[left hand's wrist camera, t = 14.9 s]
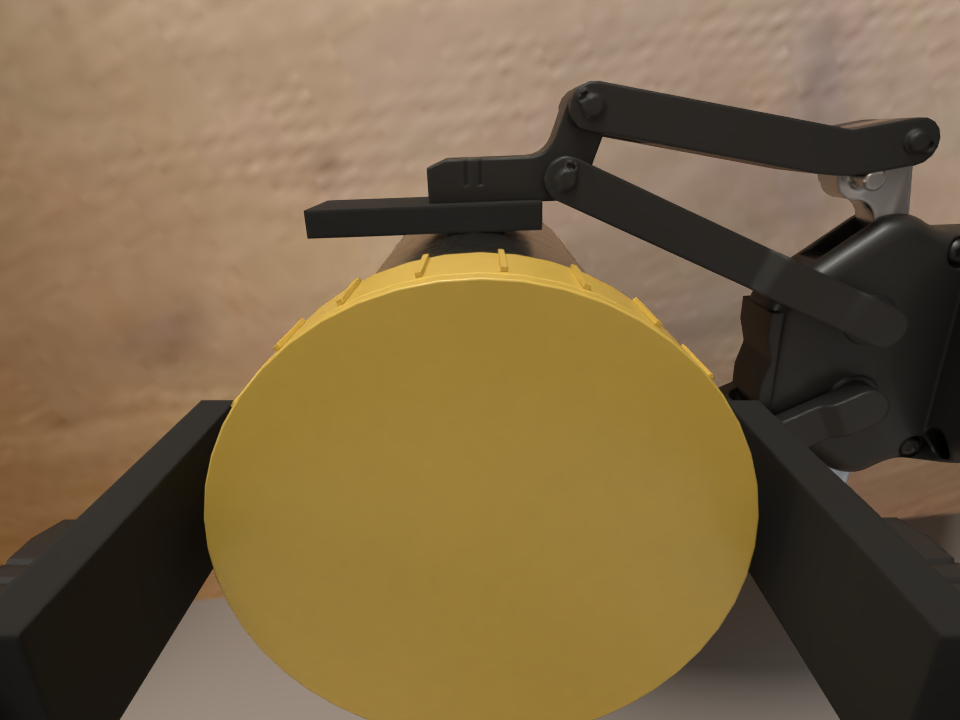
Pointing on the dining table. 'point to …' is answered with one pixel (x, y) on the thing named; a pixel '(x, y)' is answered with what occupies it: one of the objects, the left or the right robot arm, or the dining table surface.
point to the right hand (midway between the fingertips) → (338, 364)
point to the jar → (482, 246)
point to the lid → (481, 496)
